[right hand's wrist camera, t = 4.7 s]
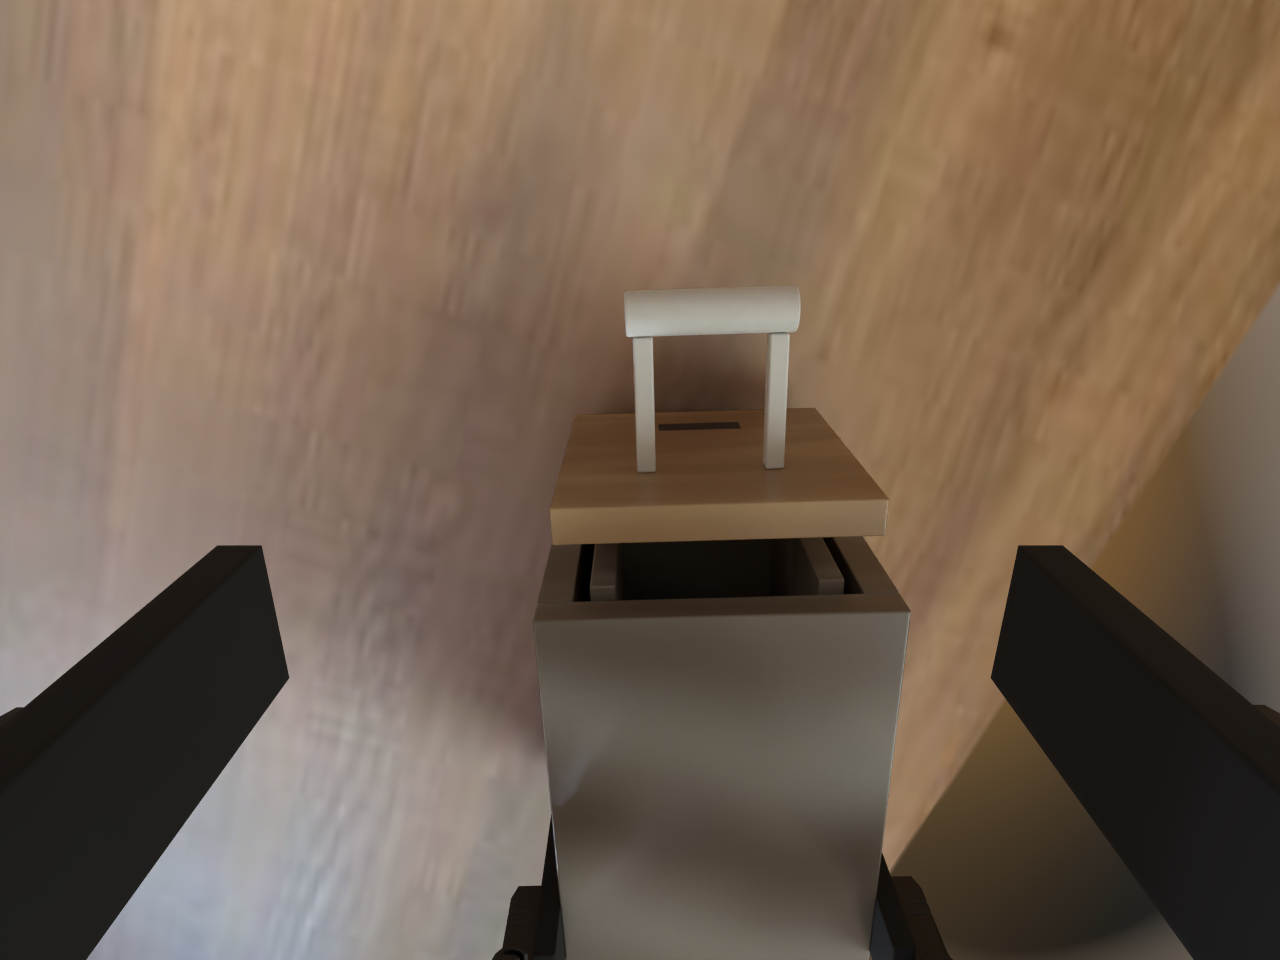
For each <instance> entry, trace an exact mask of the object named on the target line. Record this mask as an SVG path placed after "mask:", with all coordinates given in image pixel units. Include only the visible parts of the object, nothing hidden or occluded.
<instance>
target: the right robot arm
mask: <svg viewBox="0 0 1280 960" xmlns="http://www.w3.org/2000/svg"><path fill="white" fill-rule="evenodd" d="M288 679H289V675H288V670H287V665H286V660H285V655H284V651H283V646H282V641H281V636H280V631H279V627H278V622H277V617H276V612H275V608H274V603H273V598H272V593H271V588H270V584H269V579H268V574H267V569H266V564H265V560H264V555H263V550H262V546H216V547H215V548H214V549H213V550H211V551H210V552H209V553H208V554H207V555H206V556H204V557H203V558H202V559H201V560H200V561H198V562H197V563H196V564H195V565H194V566H192V567H191V568H190V569H189V570H188V571H186V572H185V573H184V574H183V575H182V576H180V577H179V578H178V579H177V580H176V581H174V582H173V583H172V584H171V585H170V586H169V587H167V588H166V589H165V590H164V591H163V592H161V593H160V594H159V595H158V596H157V597H155V598H154V599H153V600H152V601H151V602H149V603H148V604H147V605H146V606H145V607H143V608H142V609H141V610H140V611H139V612H138V613H136V614H135V615H134V616H133V617H132V618H130V619H129V620H128V621H127V622H126V623H124V624H123V625H122V626H121V627H120V628H118V629H117V630H116V631H115V632H114V633H112V634H111V635H110V636H109V637H108V638H106V639H105V640H104V641H103V642H102V643H101V644H99V645H98V646H97V647H96V648H95V649H93V650H92V651H91V652H90V653H89V654H87V655H86V656H85V657H84V658H83V659H81V660H80V661H79V662H78V663H77V664H75V665H74V666H73V667H72V668H71V669H69V670H68V671H67V672H66V673H65V674H64V675H62V676H61V677H60V678H59V679H58V680H56V681H55V682H54V683H53V684H52V685H50V686H49V687H48V688H47V689H46V690H44V691H43V692H42V693H41V694H40V695H38V696H37V697H36V698H35V699H34V700H33V701H31V702H30V703H29V704H28V705H27V706H25V707H17V708H15V709H13V710H11V711H9V712H8V713H6V714H4V715H2V716H0V960H86V959H87V958H88V956H89V955H90V954H91V952H92V951H93V949H94V948H95V947H96V945H97V944H98V943H99V941H100V940H101V938H102V937H103V936H104V934H105V933H106V931H107V930H108V929H109V927H110V926H111V924H112V923H113V922H114V920H115V919H116V918H117V916H118V915H119V913H120V912H121V911H122V909H123V908H124V906H125V905H126V904H127V902H128V901H129V899H130V898H131V897H132V895H133V894H134V893H135V891H136V890H137V888H138V887H139V886H140V884H141V883H142V881H143V880H144V879H145V877H146V876H147V875H148V873H149V872H150V870H151V869H152V868H153V866H154V865H155V863H156V862H157V861H158V859H159V858H160V856H161V855H162V854H163V852H164V851H165V850H166V848H167V847H168V845H169V844H170V843H171V841H172V840H173V838H174V837H175V836H176V834H177V833H178V832H179V830H180V829H181V827H182V826H183V825H184V823H185V822H186V820H187V819H188V818H189V816H190V815H191V813H192V812H193V811H194V809H195V808H196V807H197V805H198V804H199V802H200V801H201V800H202V798H203V797H204V795H205V794H206V793H207V791H208V790H209V789H210V787H211V786H212V784H213V783H214V782H215V780H216V779H217V777H218V776H219V775H220V773H221V772H222V770H223V769H224V768H225V766H226V765H227V764H228V762H229V761H230V759H231V758H232V757H233V755H234V754H235V752H236V751H237V750H238V748H239V747H240V746H241V744H242V743H243V741H244V740H245V739H246V737H247V736H248V734H249V733H250V732H251V730H252V729H253V727H254V726H255V725H256V723H257V722H258V721H259V719H260V718H261V716H262V715H263V714H264V712H265V711H266V709H267V708H268V707H269V705H270V704H271V703H272V701H273V700H274V698H275V697H276V696H277V694H278V693H279V691H280V690H281V689H282V687H283V686H284V684H285V683H286V682H287V680H288ZM991 679H992V680H993V682H994V683H995V684H996V686H997V687H998V689H999V690H1000V691H1001V693H1002V694H1003V696H1004V697H1005V698H1006V700H1007V701H1008V703H1009V704H1010V705H1011V707H1012V708H1013V709H1014V711H1015V712H1016V714H1017V715H1018V716H1019V718H1020V719H1021V721H1022V722H1023V723H1024V725H1025V726H1026V727H1027V729H1028V730H1029V732H1030V733H1031V734H1032V736H1033V737H1034V739H1035V740H1036V741H1037V743H1038V744H1039V746H1040V747H1041V748H1042V750H1043V751H1044V752H1045V754H1046V755H1047V757H1048V758H1049V759H1050V761H1051V762H1052V764H1053V765H1054V766H1055V768H1056V769H1057V770H1058V772H1059V773H1060V775H1061V776H1062V777H1063V779H1064V780H1065V781H1066V783H1067V784H1068V786H1069V787H1070V789H1071V790H1072V791H1073V793H1074V794H1075V795H1076V797H1077V798H1078V800H1079V801H1080V802H1081V804H1082V805H1083V807H1084V808H1085V809H1086V811H1087V812H1088V813H1089V815H1090V816H1091V818H1092V819H1093V820H1094V822H1095V823H1096V825H1097V826H1098V827H1099V829H1100V830H1101V831H1102V833H1103V834H1104V836H1105V837H1106V838H1107V840H1108V841H1109V843H1110V844H1111V845H1112V847H1113V848H1114V849H1115V851H1116V852H1117V854H1118V855H1119V856H1120V858H1121V859H1122V861H1123V862H1124V863H1125V865H1126V866H1127V868H1128V869H1129V870H1130V872H1131V873H1132V874H1133V876H1134V877H1135V879H1136V880H1137V881H1138V883H1139V884H1140V886H1141V887H1142V888H1143V890H1144V891H1145V893H1146V894H1147V895H1148V897H1149V898H1150V899H1151V901H1152V902H1153V904H1154V905H1155V906H1156V908H1157V909H1158V911H1159V912H1160V913H1161V915H1162V916H1163V918H1164V919H1165V920H1166V922H1167V923H1168V924H1169V926H1170V927H1171V929H1172V930H1173V931H1174V933H1175V934H1176V935H1177V937H1178V938H1179V940H1180V941H1181V943H1182V944H1183V945H1184V947H1185V948H1186V949H1187V951H1188V952H1189V954H1190V955H1191V956H1192V958H1193V959H1194V960H1280V713H1278V712H1276V711H1274V710H1273V709H1271V708H1269V707H1267V706H1265V705H1252V704H1251V703H1250V702H1249V701H1247V700H1246V699H1245V698H1244V697H1243V696H1242V695H1240V694H1239V693H1238V692H1237V691H1236V690H1234V689H1233V688H1232V687H1231V686H1230V685H1228V684H1227V683H1226V682H1225V681H1224V680H1222V679H1221V678H1220V677H1219V676H1218V675H1216V674H1215V673H1214V672H1213V671H1212V670H1211V669H1209V668H1208V667H1207V666H1206V665H1204V664H1203V663H1202V662H1201V661H1200V660H1199V659H1197V658H1196V657H1195V656H1194V655H1193V654H1191V653H1190V652H1189V651H1188V650H1187V649H1185V648H1184V647H1183V646H1182V645H1181V644H1179V643H1178V642H1177V641H1176V640H1175V639H1173V638H1172V637H1171V636H1170V635H1169V634H1168V633H1166V632H1165V631H1164V630H1163V629H1162V628H1160V627H1159V626H1158V625H1157V624H1156V623H1154V622H1153V621H1152V620H1151V619H1150V618H1148V617H1147V616H1146V615H1145V614H1144V613H1142V612H1141V611H1140V610H1139V609H1138V608H1137V607H1135V606H1134V605H1133V604H1132V603H1130V602H1129V601H1128V600H1127V599H1126V598H1125V597H1123V596H1122V595H1121V594H1120V593H1119V592H1117V591H1116V590H1115V589H1114V588H1113V587H1111V586H1110V585H1109V584H1108V583H1107V582H1105V581H1104V580H1103V579H1102V578H1101V577H1100V576H1098V575H1097V574H1096V573H1095V572H1094V571H1092V570H1091V569H1090V568H1089V567H1088V566H1086V565H1085V564H1084V563H1083V562H1082V561H1080V560H1079V559H1078V558H1077V557H1076V556H1074V555H1073V554H1072V553H1071V552H1070V551H1069V550H1067V549H1066V548H1065V547H1064V546H1018V550H1017V555H1016V560H1015V564H1014V569H1013V574H1012V579H1011V584H1010V588H1009V593H1008V598H1007V603H1006V608H1005V612H1004V617H1003V622H1002V627H1001V631H1000V636H999V641H998V646H997V651H996V655H995V660H994V665H993V670H992V675H991Z"/></svg>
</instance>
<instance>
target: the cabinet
mask: <svg viewBox="0 0 1280 960" xmlns="http://www.w3.org/2000/svg"><path fill="white" fill-rule="evenodd" d="M822 538H823V540H824V542H825V544H826V546H827V548H828V550H829V552H830V554H831V555H832V557H833V559H834V561H835V563H836V565H837V567H838V569H839V571H840V572H841V574H842V576H843V578H844V591H843V594H840V595H803V596H767V597H731V598H695V599H659V600H623V601H591V600H590V581H591V573H592V564H593V556H594V548H595V544H568V545H553V544H552V545H551V549H550V553H549V557H548V561H547V565H546V569H545V573H544V578H543V582H542V586H541V590H540V594H539V598H538V602H537V603H538V604H537V607H536V612H535V616H534V620H533V628H534V639H535V649H536V659H537V669H538V680H539V690H540V700H541V711H542V721H543V731H544V742H545V752H546V762H547V772H548V783H549V793H550V803H551V814H552V824H553V834H554V844H555V855H556V865H557V875H558V886H559V896H560V905H561V915H562V925H563V936H564V946H565V956H566V960H869V952H870V944H871V936H872V928H873V919H874V911H875V903H876V895H877V886H878V878H879V870H880V862H881V853H882V845H883V837H884V829H885V820H886V812H887V804H888V796H889V787H890V779H891V771H892V763H893V754H894V746H895V738H896V730H897V721H898V713H899V705H900V697H901V688H902V680H903V672H904V664H905V655H906V647H907V639H908V631H909V622H910V614H911V611H910V609H909V608H908V606H907V605H906V603H905V601H904V600H903V598H902V597H901V595H900V594H899V592H898V590H897V589H896V587H895V586H894V584H893V582H892V581H891V579H890V578H889V576H888V575H887V573H886V572H885V570H884V569H883V567H882V565H881V564H880V562H879V561H878V559H877V558H876V556H875V555H874V553H873V552H872V550H871V549H870V547H869V545H868V544H867V542H866V541H865V539H864V538H863V536H850V537H822Z"/></svg>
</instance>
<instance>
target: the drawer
mask: <svg viewBox="0 0 1280 960" xmlns="http://www.w3.org/2000/svg"><path fill="white" fill-rule="evenodd" d="M624 300H625V329H626V336H627V337H633V361H634V391H635V413H626V414H593V415H575V418H574V422H573V426H572V429H571V433H570V437H569V440H568V444H567V447H566V451H565V455H564V458H563V462H562V466H561V469H560V473H559V476H558V480H557V484H556V487H555V491H554V494H553V498H552V502H551V505H550V509H549V511H550V523H551V536H552V544H553V545H568V544H595V548H594V556H593V564H592V573H591V581H590V600H591V601H623V600H659V599H695V598H731V597H767V596H803V595H840V594H843V591H844V578H843V576H842V574H841V572H840V571H839V569H838V567H837V565H836V563H835V561H834V559H833V557H832V555H831V554H830V552H829V550H828V548H827V546H826V544H825V542H824V540H823V538H822V537H850V536H884V535H885V533H886V523H887V513H888V503H889V499H888V497H887V496H886V495H885V494H884V492H883V491H882V490H881V489H880V487H879V486H878V485H877V484H876V482H875V481H874V480H873V479H872V478H871V476H870V475H869V474H868V473H867V471H866V470H865V469H864V468H863V466H862V465H861V464H860V463H859V462H858V460H857V459H856V458H855V457H854V455H853V454H852V453H851V452H850V450H849V449H848V448H847V447H846V445H845V444H844V443H843V442H842V441H841V439H840V438H839V437H838V436H837V434H836V433H835V432H834V431H833V429H832V428H831V427H830V426H829V425H828V423H827V422H826V421H825V420H824V418H823V417H822V416H821V415H820V413H819V412H818V411H817V410H816V409H815V408H794V409H786V408H787V386H788V363H789V341H790V335H789V333H788V332H795V331H796V330H797V328H798V326H799V321H800V294H799V290H798V287H797V286H795V285H787V286H755V287H723V288H691V289H659V290H627V291H625V293H624ZM746 333H767V355H766V385H765V409H760V410H727V411H693V412H660V413H655V411H654V369H653V337H652V336H680V335H713V334H746Z"/></svg>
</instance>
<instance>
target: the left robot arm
mask: <svg viewBox="0 0 1280 960" xmlns="http://www.w3.org/2000/svg"><path fill="white" fill-rule="evenodd" d="M870 954H871V957H872V960H953V959H951V957H950V956H949V955H948V953H947V951H946V948H945V946H944V943H943V941H942V939H941V936H940V934H939V931H938V929H937V926H936V924H935V921H934V919H933V916H932V915H931V911H930V909H929V906H928V904H927V901H926V899H925V896H924V894H923V891H922V889H921V887H920V886H919V885H918V884H917V883H916V882H915V880H914V879H913V878H912V877H911V876H901V877H891V876H890V873H889V870H888V867H887V865H886V862H885V859H884V856H883V854H882V853H881V862H880V870H879V878H878V886H877V895H876V903H875V911H874V919H873V928H872V936H871V944H870ZM565 959H566V956H565V946H564V936H563V925H562V915H561V905H560V896H559V886H558V875H557V865H556V855H555V844H554V834H553V824H552V814H551V821H550V828H549V835H548V842H547V850H546V857H545V864H544V871H543V878H542V886H519V887H518V888H517V890H516V892H515V893H514V895H513V896H512V898H511V903H510V908H509V915H508V919H507V925H506V931H505V936H504V942H503V947H502V949H501V950H499V951H498V952H497V953H496V954H495V956H494V957H493V959H492V960H565Z"/></svg>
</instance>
